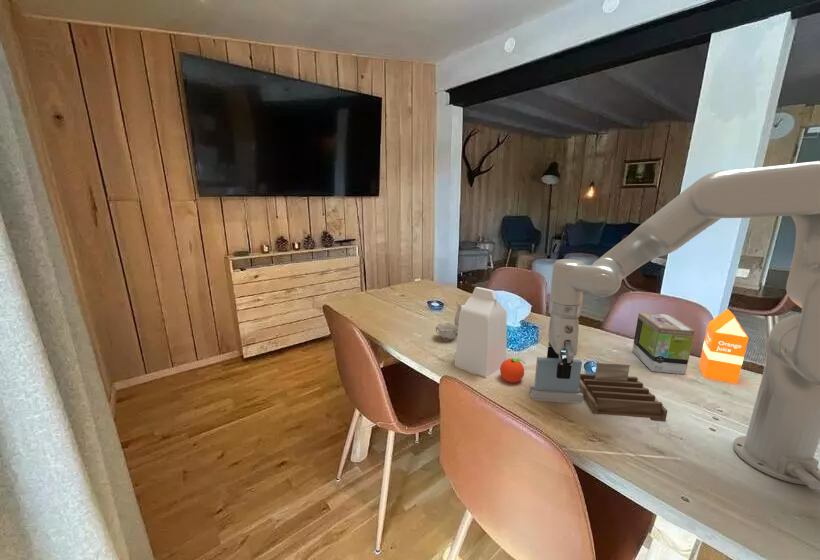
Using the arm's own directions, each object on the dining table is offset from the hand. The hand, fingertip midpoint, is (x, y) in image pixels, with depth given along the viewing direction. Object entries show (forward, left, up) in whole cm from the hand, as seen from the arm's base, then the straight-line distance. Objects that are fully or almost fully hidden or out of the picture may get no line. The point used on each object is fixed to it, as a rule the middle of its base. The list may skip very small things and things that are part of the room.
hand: (557, 368), depth 92 cm
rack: (0, -16, -9) cm, 18 cm away
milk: (+16, +19, -9) cm, 26 cm away
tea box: (+26, -39, -9) cm, 48 cm away
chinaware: (+38, +21, -9) cm, 44 cm away
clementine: (+8, +10, -9) cm, 16 cm away
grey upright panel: (0, 0, -8) cm, 8 cm away
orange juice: (+20, -53, -9) cm, 57 cm away
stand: (0, 0, -9) cm, 9 cm away
